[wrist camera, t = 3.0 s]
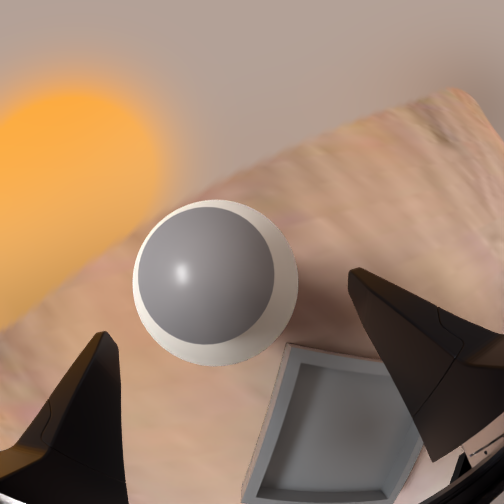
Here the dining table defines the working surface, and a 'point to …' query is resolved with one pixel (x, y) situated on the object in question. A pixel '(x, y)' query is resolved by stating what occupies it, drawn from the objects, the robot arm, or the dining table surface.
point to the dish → (332, 433)
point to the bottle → (215, 283)
